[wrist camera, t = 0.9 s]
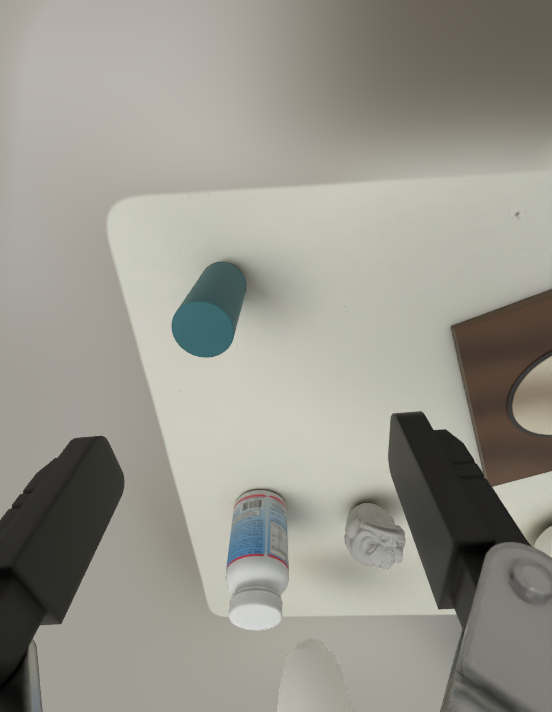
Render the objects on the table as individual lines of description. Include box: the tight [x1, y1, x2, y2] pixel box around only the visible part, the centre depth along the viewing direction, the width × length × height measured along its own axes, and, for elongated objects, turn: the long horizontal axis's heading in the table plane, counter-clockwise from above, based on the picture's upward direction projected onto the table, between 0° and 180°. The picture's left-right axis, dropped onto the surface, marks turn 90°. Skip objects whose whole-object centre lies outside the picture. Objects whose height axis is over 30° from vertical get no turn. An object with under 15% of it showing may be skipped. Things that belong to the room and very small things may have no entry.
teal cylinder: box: [172, 262, 246, 357], centre depth 23 cm, size 3×3×9 cm
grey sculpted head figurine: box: [344, 503, 406, 569], centre depth 36 cm, size 6×7×7 cm
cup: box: [277, 638, 354, 712], centre depth 35 cm, size 7×7×21 cm
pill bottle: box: [226, 490, 289, 630], centre depth 35 cm, size 6×6×11 cm
